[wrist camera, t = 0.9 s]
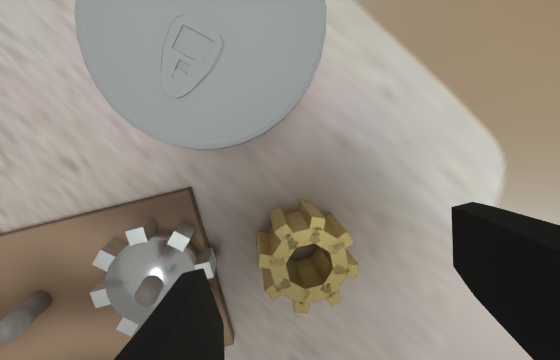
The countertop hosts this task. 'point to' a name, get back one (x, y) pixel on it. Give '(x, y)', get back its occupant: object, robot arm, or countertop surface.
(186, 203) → the gear board
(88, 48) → the canned food
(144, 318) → the gear
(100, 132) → the countertop surface
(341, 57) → the countertop surface
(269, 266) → the brass gear
